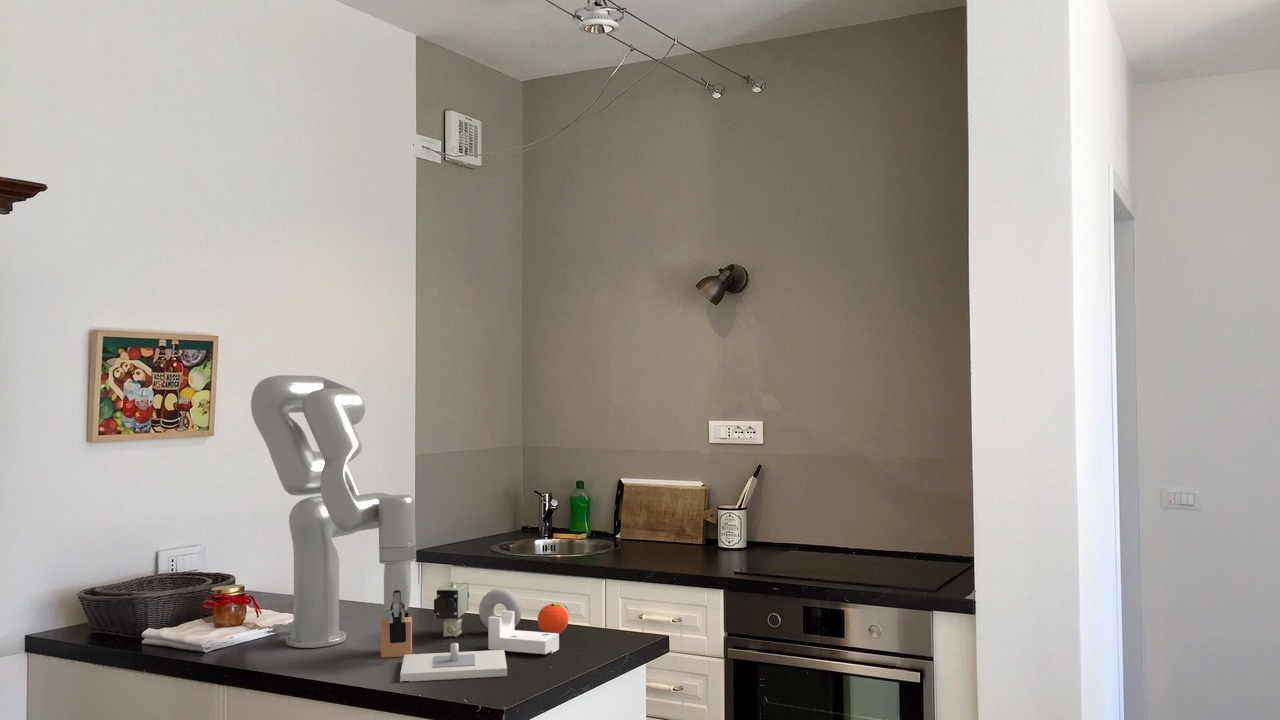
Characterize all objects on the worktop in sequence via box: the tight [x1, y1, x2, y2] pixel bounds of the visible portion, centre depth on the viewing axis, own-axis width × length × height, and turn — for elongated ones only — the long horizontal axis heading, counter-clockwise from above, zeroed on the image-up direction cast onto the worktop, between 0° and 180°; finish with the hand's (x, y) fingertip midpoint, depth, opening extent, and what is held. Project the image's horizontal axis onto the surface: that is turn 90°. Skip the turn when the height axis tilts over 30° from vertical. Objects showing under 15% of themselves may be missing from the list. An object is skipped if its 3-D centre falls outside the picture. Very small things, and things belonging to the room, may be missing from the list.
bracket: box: [487, 610, 560, 655], centre depth 211 cm, size 13×7×8 cm, turn 71°
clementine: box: [537, 602, 570, 635], centre depth 224 cm, size 8×7×7 cm
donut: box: [478, 588, 522, 629], centre depth 226 cm, size 10×4×10 cm, turn 78°
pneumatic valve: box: [433, 580, 470, 638], centre depth 224 cm, size 6×12×12 cm, turn 174°
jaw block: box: [380, 616, 413, 658], centre depth 209 cm, size 6×5×7 cm
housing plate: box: [399, 642, 508, 683], centre depth 197 cm, size 20×14×5 cm
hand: (399, 637), depth 208 cm, fingers open, 9 cm apart
